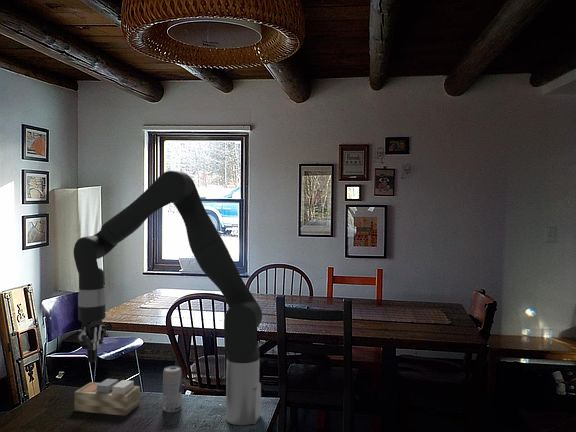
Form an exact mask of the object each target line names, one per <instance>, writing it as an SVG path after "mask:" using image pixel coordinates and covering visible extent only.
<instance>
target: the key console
mask: <svg viewBox="0 0 576 432" xmlns="http://www.w3.org/2000/svg"><path fill="white" fill-rule="evenodd" d="M100 383H101V382H94V381H93V382H92V381H90V382H89V383H87V384H85V385H84V386H81V387H80V388H79V389H77V390H75V391H74V412H83V413H93V414H94V413H95V414H103V415H104V414H105V415H106V414H107V415H115V416H124V417H125V416H127V415H128V414H130V413H131V412H132V411H134V410H135V409H136V408H137V407H139V406H140V403H141V402H140V400H141V397H140V394H141V393H140V392H141V387H140V386H138V385H134V388H133V389H132V390H131V391H129V392H128V393H127V394H125V395H119V394H113V391H112V392H110V393H109V394H107V393H97V390H95V391H94V392H85V391H82V390H83V389H85V388H86V387H88V386H90V385H91V384H100Z"/></svg>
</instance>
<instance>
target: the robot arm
mask: <svg viewBox="0 0 576 432" xmlns="http://www.w3.org/2000/svg"><path fill="white" fill-rule="evenodd" d="M170 204H173V205H174V206H175V208H176V210H177V212H178V213H179V214H180V217H181V218H182V221H183V223H184V226H185V229H186V234H187V239H188V240H187V241H188V244H189V248H190V250H191V252H192V255H193V257H194V258H195V260H196V262H197V264H198V266H199V268H200V269H201V271H202V272H203V273H204V275H206V277H207V278H208V279H209V280H210V281H211V282H212V283H214V285H215V286H216V287H217V289H218V290H219V291H220V292H221V294H222V296H223V297H224V300H225V301H226V304H227V306H228V309H227V310H226V312H225V315H224V319H223V320H224V321H223V334H224V335H223V337H224V339H223V341H224V343H223V344H224V349H225V353H226V372H225V373H226V377H225V378H226V380H225V383H226V384H225V385H226V387H225V388H226V389H225V390H226V391H225V392H226V393H225V398H226V399H225V407H226V408H225V420H226V422H227V423H229V424H232V425H235V426H249V425H257V423H258V421H259V419H260V418H261V416H262V413H261V411H262V409H261V407H262V382H260V348H259V347H258V343H257V339H258V338H257V329H258V327H259V326H260V325H261V323H262V320H263V312H262V308H261V306H260V305H259V303H258V301H257V300H256V298H255V296H254V295H253V294H252V293H251V291H250V290H249V288H248V287H247V285H246V283H245V282H244V281H243V278H242V276H241V275H240V272H239V269H238V268H237V265H236V264H235V262H234V259H233V258H232V256H231V254H230V252H229V250H228V248H227V246H226V244H225V242H224V240H223V238H222V236H221V235H220V232H219V231H218V230H217V228H216V226H215V224H214V221H212V219H211V217H210V216H209V214H208V212H207V209H205V207H204V205H203V201H202V199H201V196H200V194H199V192H198V189H197V187H196V183H195V182H194V180H193V178H192V176H190V175H189V174H188V173H185V172H183V171H179V170H167V171H165V172H162V174H161V175H159V176H158V177H157V178H156V179H155V180H154V182H153V183H151V185H149V187H148V188H147V189H146V190H144V191H143V192H142V194H141V195H139V196H138V197H137V198H136V199H135V200H134V201H132V202H131V203H130V204H129V205H128V206H126V207H125V208H123V209H122V210H120V211H119V212H118V213H117V214H115V215H114V216H112V217H111V218H110V219H109V220H107V221H106V222H105V223H103V224H102V225H101V226H100V227H101V228H100V230H99V231H98V232H96V234H93V235H90V236H82V237H80V238H78V239H77V240H76V242H75V244H74V247H73V258H74V262H75V268H76V271H77V273H78V295H77V311H78V312H77V314H78V315H77V317H78V321H79V322H81V328H80V330H81V331H80V333H79V334H77V335H76V338H75V339H76V340H77V343H79V345H80V347H81V349H82V350H86V351H87V362H88V363H95V362H97V361H98V349H99V347H100V345H101V346H102V344H103V341H104V338H105V335H106V333H107V331H108V330H107V329H108V327H107V325H104V323H103V321H104V320H105V318H106V317H107V316H106V292H105V273H104V272H105V271H104V270H103V269H102V268H101V267H99V264H98V259H101V258H104V257H105V256H107V255H108V254H109V253H110V252H111V251H112V250H113V249H115V247H117V245H118V244H119V243H121V242H122V241H123V240H125V239H126V238H128V237H129V236H131V235H132V234H133V233H135V232H136V231H137V230H138V229H139V228H140V227H141V226H142V225H143V224H144V223H145V221H146V220H147V219H148V218H149V217H150V216H151V215H153V214H154V213H155V212H157V211H158V210H160V209H162V208H163V207H166V206H167V205H170Z"/></svg>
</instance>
